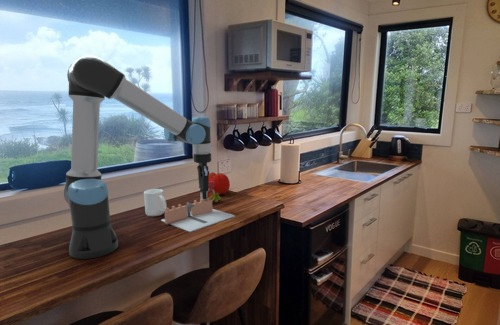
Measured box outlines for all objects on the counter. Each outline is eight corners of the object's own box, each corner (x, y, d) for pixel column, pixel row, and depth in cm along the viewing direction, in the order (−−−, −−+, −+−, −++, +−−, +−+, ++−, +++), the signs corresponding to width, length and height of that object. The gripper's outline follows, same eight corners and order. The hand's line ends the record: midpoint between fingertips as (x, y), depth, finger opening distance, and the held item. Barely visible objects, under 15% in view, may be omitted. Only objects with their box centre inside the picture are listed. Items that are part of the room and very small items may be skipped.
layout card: (187, 232, 131) (187, 231, 131) (158, 221, 145) (158, 220, 145) (235, 216, 149) (235, 215, 149) (205, 207, 163) (205, 206, 163)
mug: (173, 214, 154) (172, 191, 153) (158, 219, 148) (156, 195, 146) (156, 209, 162) (155, 188, 160) (141, 214, 155) (139, 191, 154)
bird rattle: (214, 209, 167) (223, 197, 174) (207, 190, 162) (217, 179, 168) (204, 207, 171) (213, 196, 177) (197, 189, 165) (207, 178, 172)
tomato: (234, 194, 184) (233, 173, 182) (210, 199, 177) (209, 176, 175) (222, 189, 195) (222, 169, 193) (199, 193, 188) (198, 172, 186)
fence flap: (192, 216, 149) (191, 202, 148) (190, 215, 150) (189, 201, 149) (213, 211, 155) (212, 197, 154) (210, 210, 156) (210, 196, 155)
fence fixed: (167, 225, 140) (166, 208, 139) (165, 224, 141) (164, 208, 140) (191, 217, 149) (190, 202, 148) (189, 217, 150) (188, 201, 149)
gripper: (214, 154, 146) (216, 208, 150) (207, 150, 158) (209, 200, 162) (196, 155, 143) (199, 210, 148) (190, 151, 155) (193, 202, 159)
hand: (204, 205), depth 155 cm, fingers closed
